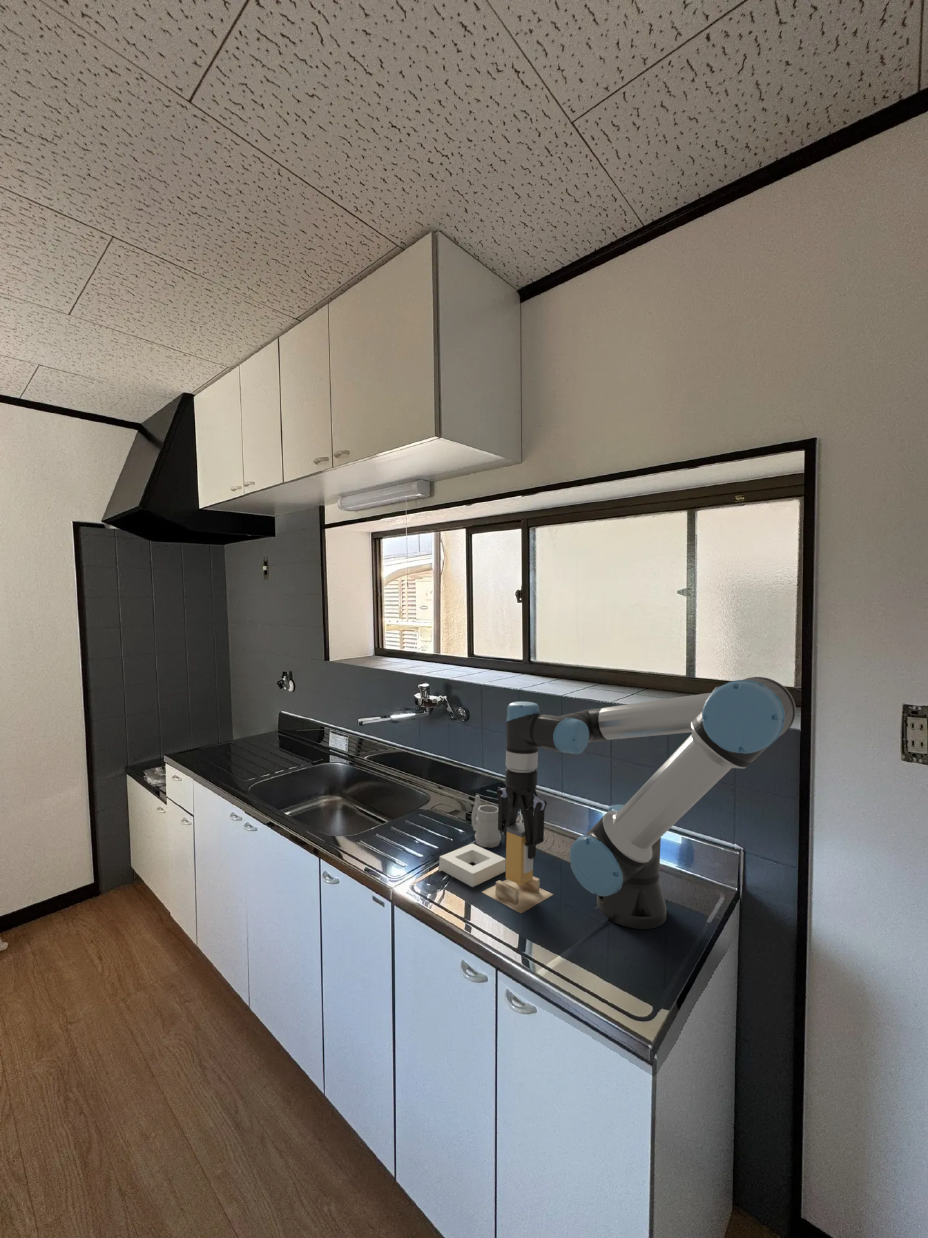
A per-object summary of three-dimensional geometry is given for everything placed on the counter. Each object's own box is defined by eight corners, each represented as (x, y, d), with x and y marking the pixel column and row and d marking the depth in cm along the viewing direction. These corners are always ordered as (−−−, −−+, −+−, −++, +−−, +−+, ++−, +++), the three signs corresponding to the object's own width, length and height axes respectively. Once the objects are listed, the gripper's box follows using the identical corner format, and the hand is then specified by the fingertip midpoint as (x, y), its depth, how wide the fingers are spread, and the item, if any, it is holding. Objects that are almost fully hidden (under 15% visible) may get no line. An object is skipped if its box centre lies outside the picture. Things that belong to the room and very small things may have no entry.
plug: (532, 879, 125) (533, 828, 125) (520, 885, 121) (521, 833, 121) (517, 872, 128) (518, 822, 128) (505, 878, 125) (506, 827, 125)
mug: (484, 850, 149) (486, 808, 149) (461, 835, 159) (463, 795, 159) (506, 844, 153) (507, 803, 153) (482, 830, 163) (483, 791, 163)
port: (505, 874, 135) (505, 858, 135) (472, 890, 127) (472, 873, 127) (471, 858, 144) (472, 843, 144) (439, 872, 136) (439, 856, 136)
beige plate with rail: (553, 898, 125) (553, 881, 125) (520, 917, 116) (521, 899, 116) (514, 878, 133) (514, 863, 133) (481, 895, 125) (482, 879, 125)
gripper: (561, 773, 121) (559, 875, 121) (503, 758, 134) (501, 850, 133) (541, 779, 116) (539, 886, 116) (483, 763, 128) (481, 859, 128)
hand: (519, 867), depth 125 cm, fingers closed on plug, 4 cm apart
